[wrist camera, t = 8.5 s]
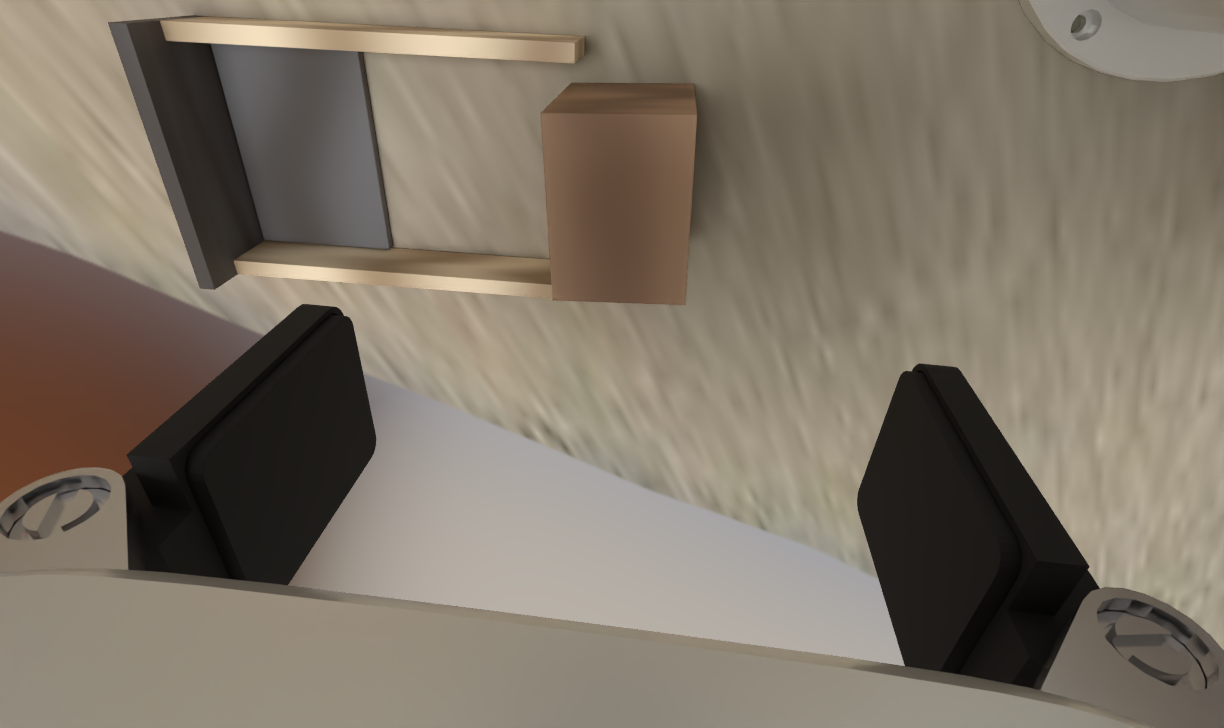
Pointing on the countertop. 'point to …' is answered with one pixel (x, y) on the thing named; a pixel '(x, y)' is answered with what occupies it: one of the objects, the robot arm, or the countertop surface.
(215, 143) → the birch chute
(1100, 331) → the countertop surface
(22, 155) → the countertop surface
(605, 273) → the walnut block
